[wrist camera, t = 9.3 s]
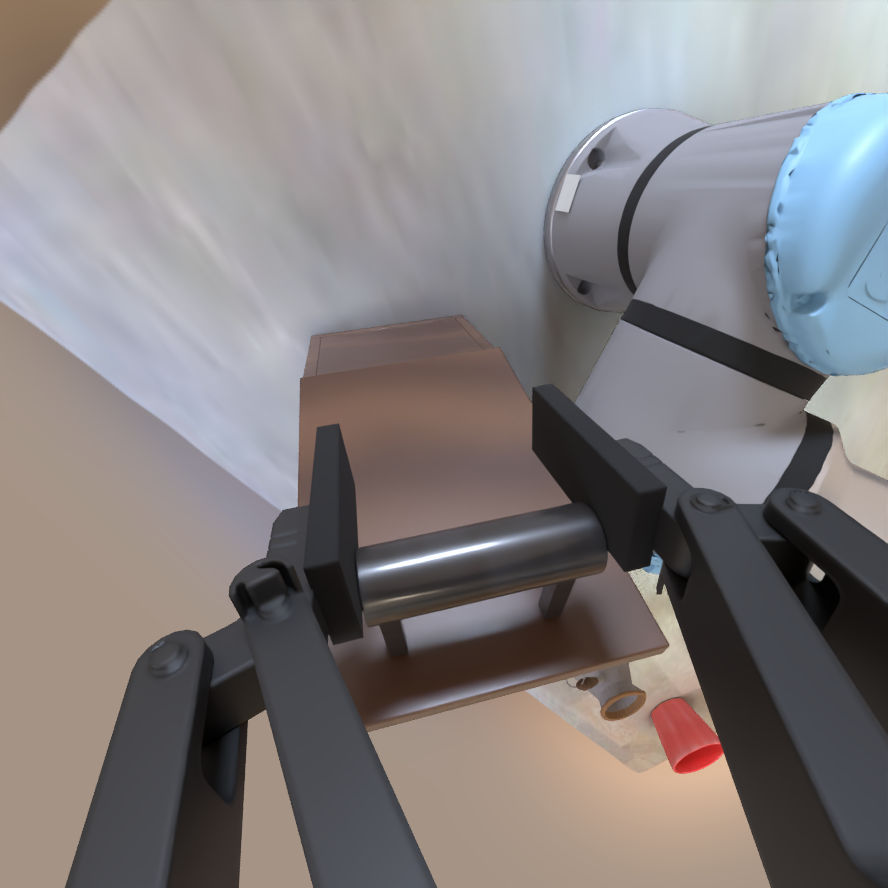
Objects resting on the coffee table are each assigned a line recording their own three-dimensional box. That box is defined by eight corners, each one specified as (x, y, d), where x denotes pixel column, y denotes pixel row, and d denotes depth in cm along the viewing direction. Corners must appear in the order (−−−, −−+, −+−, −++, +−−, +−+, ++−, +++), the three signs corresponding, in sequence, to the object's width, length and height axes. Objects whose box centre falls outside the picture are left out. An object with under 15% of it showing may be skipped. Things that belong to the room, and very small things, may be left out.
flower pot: (643, 704, 87) (675, 758, 79) (693, 686, 87) (729, 737, 79) (642, 728, 92) (672, 780, 84) (689, 711, 93) (723, 761, 85)
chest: (472, 484, 49) (501, 547, 40) (354, 507, 47) (357, 579, 38) (462, 314, 39) (497, 349, 30) (311, 335, 37) (301, 379, 28)
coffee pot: (623, 619, 70) (686, 714, 57) (566, 657, 72) (614, 756, 59) (560, 558, 59) (621, 658, 46) (495, 604, 61) (536, 712, 48)
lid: (663, 653, 16) (755, 561, 11) (299, 750, 14) (212, 694, 9) (499, 357, 30) (507, 256, 25) (303, 387, 28) (268, 285, 23)
